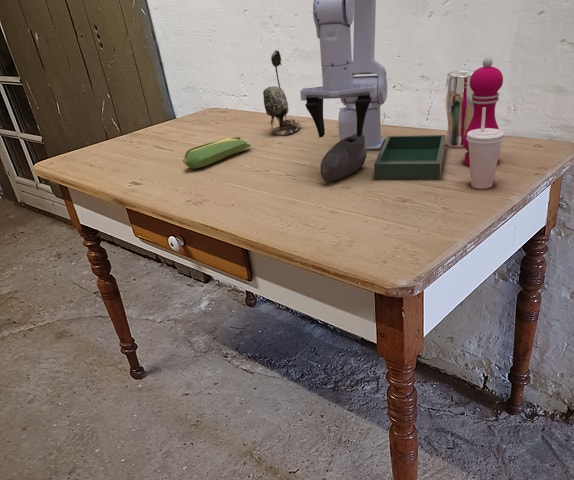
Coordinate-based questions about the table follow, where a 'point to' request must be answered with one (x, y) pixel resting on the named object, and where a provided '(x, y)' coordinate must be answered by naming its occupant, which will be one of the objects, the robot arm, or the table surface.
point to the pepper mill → (483, 98)
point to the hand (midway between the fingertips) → (340, 135)
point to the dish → (410, 157)
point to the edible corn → (213, 152)
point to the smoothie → (484, 154)
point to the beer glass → (458, 106)
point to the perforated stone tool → (343, 158)
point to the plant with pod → (278, 104)
